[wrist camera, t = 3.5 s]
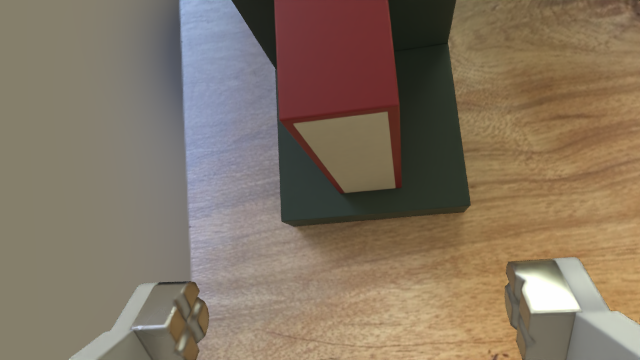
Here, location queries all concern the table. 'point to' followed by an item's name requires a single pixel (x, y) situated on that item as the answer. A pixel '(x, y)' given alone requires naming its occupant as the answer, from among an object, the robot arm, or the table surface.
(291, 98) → the book
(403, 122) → the shelf
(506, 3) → the table surface
